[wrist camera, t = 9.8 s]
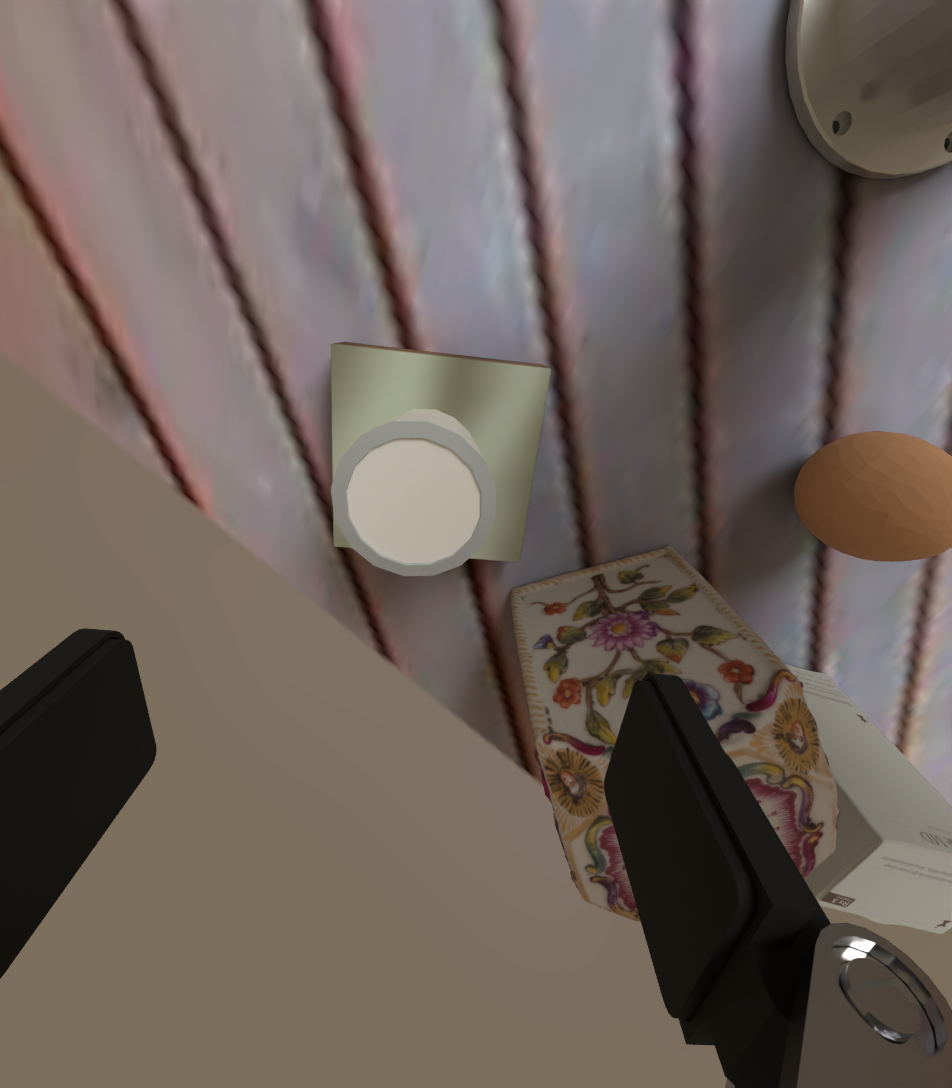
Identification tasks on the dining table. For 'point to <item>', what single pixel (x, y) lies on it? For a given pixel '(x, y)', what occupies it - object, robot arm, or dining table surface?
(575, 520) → the dining table surface
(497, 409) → the plinth
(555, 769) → the decorative jar
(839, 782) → the skincare box
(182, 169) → the dining table surface
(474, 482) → the beige cylinder
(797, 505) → the egg
